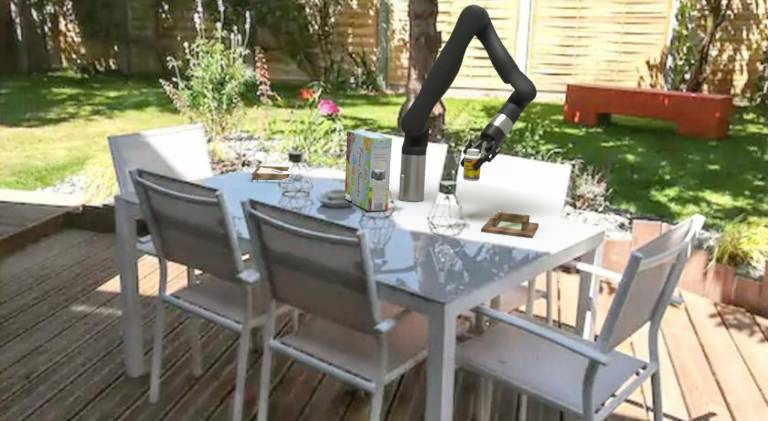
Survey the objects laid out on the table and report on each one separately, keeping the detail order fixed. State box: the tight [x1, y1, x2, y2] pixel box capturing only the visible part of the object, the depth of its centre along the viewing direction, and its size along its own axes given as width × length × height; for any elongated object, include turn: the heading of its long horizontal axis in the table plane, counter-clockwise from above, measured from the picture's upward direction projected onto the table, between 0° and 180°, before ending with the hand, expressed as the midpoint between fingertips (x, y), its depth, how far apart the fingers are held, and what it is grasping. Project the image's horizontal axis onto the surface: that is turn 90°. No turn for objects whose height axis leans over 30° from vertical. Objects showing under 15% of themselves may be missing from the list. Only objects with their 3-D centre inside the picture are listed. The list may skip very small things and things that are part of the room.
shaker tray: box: [251, 165, 290, 181], centre depth 295 cm, size 16×17×4 cm
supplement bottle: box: [462, 149, 482, 182], centre depth 238 cm, size 6×6×10 cm
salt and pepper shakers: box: [257, 167, 283, 174], centre depth 294 cm, size 12×4×11 cm
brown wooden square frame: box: [480, 211, 540, 239], centre depth 230 cm, size 16×16×4 cm
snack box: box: [344, 130, 393, 212], centre depth 253 cm, size 22×9×26 cm, turn 26°
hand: (468, 167), depth 237 cm, fingers closed on supplement bottle, 5 cm apart
